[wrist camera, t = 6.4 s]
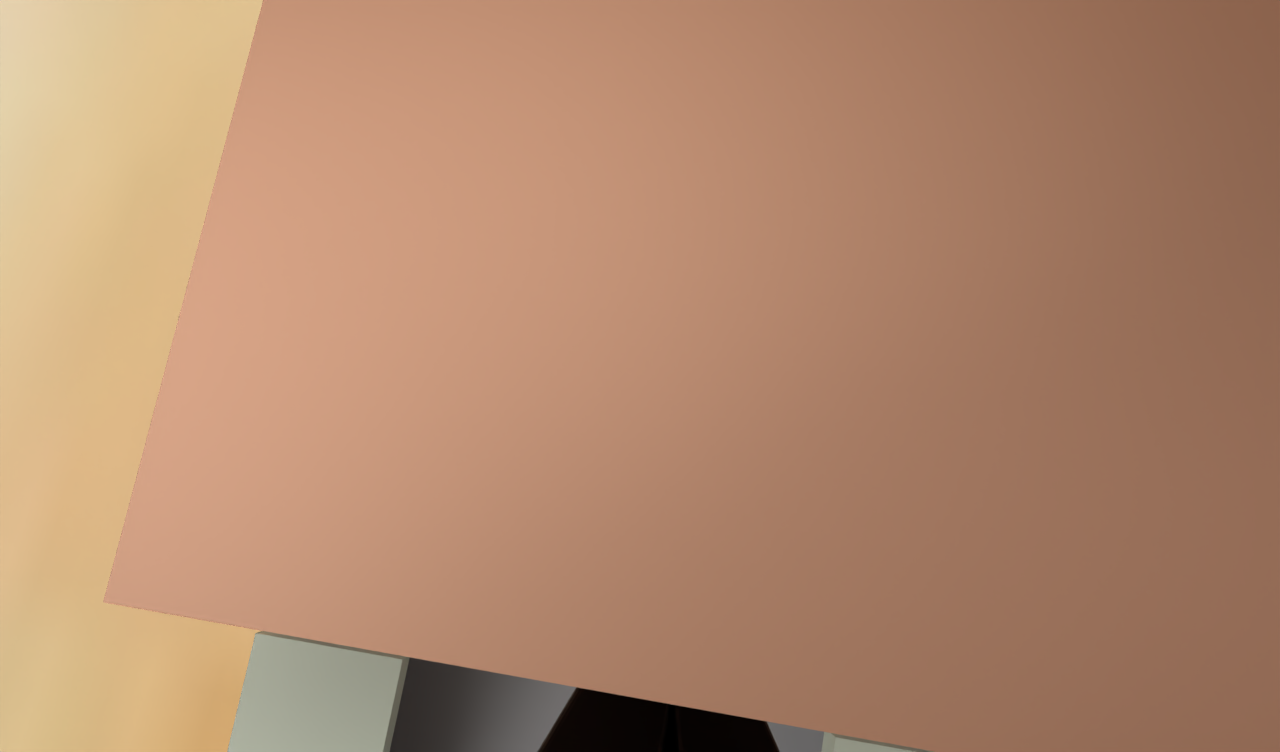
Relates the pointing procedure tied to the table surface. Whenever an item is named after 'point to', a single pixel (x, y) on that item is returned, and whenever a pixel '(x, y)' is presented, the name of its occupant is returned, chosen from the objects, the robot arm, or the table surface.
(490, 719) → the track
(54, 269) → the table surface
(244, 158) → the salmon pink rectangular block
